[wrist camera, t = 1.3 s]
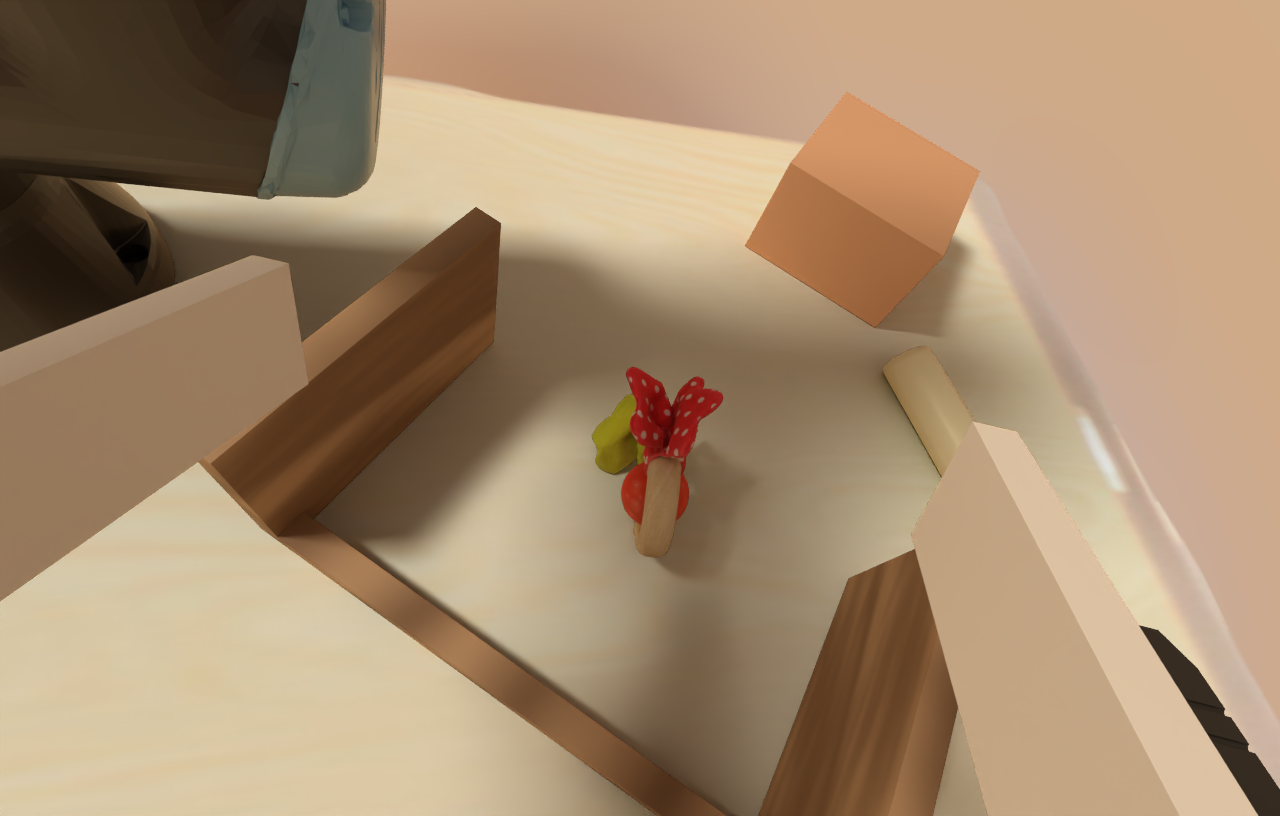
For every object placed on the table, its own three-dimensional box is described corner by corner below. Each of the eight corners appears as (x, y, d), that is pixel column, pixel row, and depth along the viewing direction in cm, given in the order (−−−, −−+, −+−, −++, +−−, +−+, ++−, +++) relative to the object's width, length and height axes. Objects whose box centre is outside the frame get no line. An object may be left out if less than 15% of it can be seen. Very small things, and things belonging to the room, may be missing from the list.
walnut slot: (261, 528, 29) (176, 439, 21) (474, 328, 38) (475, 207, 29) (764, 893, 27) (899, 960, 19) (870, 593, 35) (995, 544, 27)
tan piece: (1129, 842, 32) (1199, 851, 29) (871, 376, 44) (901, 348, 41) (1170, 814, 34) (1242, 821, 31) (909, 369, 46) (941, 341, 43)
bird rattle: (686, 543, 36) (692, 396, 37) (765, 577, 26) (771, 369, 27) (584, 541, 35) (593, 388, 36) (623, 576, 24) (634, 356, 25)
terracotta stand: (745, 245, 47) (790, 162, 41) (799, 174, 54) (846, 91, 47) (875, 327, 47) (943, 256, 40) (914, 244, 53) (980, 171, 46)
